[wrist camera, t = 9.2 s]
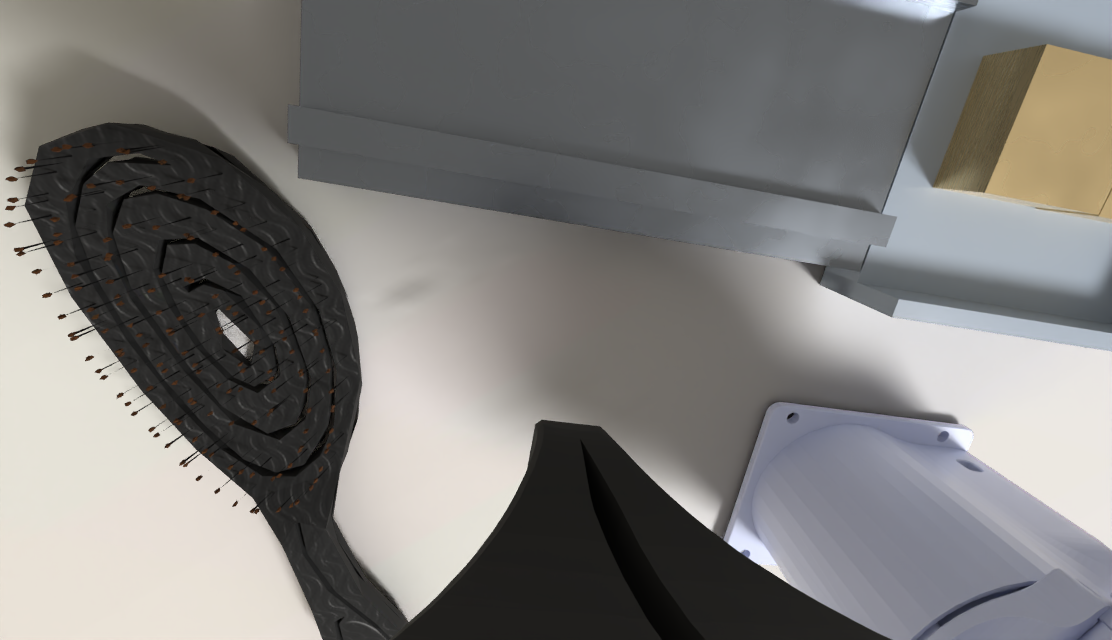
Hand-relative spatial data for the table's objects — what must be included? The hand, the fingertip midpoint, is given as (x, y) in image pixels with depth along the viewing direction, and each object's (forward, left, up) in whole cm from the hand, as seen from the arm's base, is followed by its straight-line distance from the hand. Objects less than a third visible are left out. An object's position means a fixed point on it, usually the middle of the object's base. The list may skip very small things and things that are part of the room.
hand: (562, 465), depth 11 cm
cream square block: (-14, -9, -7) cm, 18 cm away
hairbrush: (+8, +7, -10) cm, 15 cm away
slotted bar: (-1, -9, -9) cm, 13 cm away
